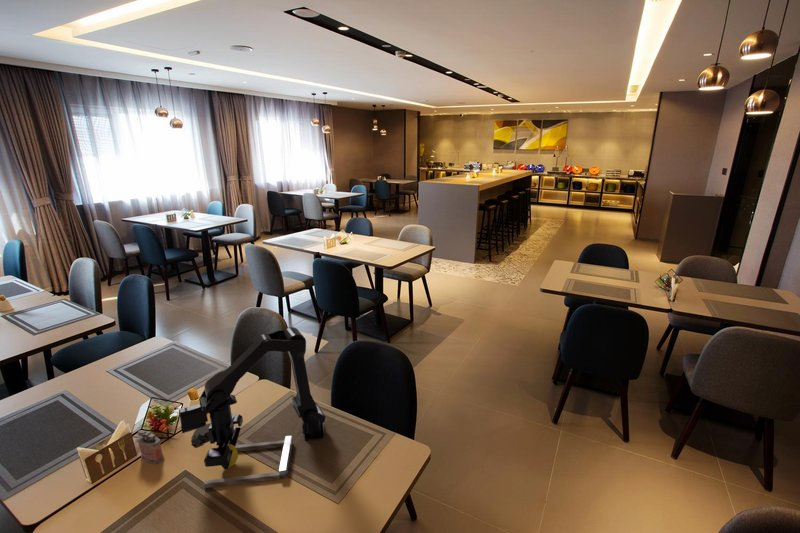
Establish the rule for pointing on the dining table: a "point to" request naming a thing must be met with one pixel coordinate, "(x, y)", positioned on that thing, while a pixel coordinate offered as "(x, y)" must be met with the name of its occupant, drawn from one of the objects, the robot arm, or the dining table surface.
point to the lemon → (233, 455)
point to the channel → (259, 477)
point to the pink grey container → (150, 447)
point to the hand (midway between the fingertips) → (228, 461)
